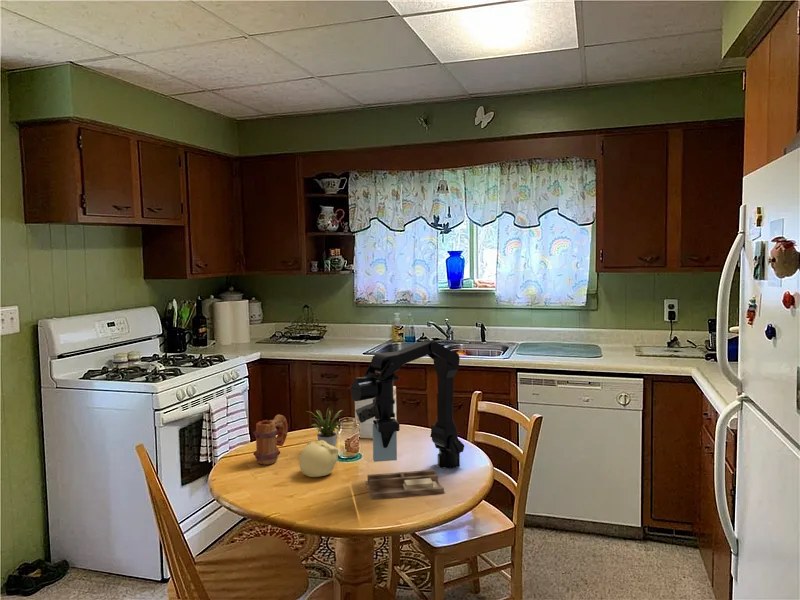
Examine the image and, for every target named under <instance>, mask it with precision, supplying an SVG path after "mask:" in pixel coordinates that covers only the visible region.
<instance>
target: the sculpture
mask: <svg viewBox="0 0 800 600" xmlns="http://www.w3.org/2000/svg"><path fill="white" fill-rule="evenodd" d="M338 454H339V448H338V447H336V445H335V446H332V445H330V444H328V443H327V442H326V441H324V440H320V441H318V440H317V441H310V442H307V443H306V445H305V446H304V448H302V450H301V452H300V454H299V458H298V465H299V468H300V471H301V473H302V474H304V475H305V476H306V477H310V478H320V477H323V476H327V475H330V474H331V473H332V471H333V470H334V469H335V465H336V463H337V462H338V459H339V458H338V457H339V455H338Z"/></svg>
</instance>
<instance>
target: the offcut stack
mask: <svg viewBox="0 0 800 600" xmlns="http://www.w3.org/2000/svg"><path fill="white" fill-rule="evenodd" d="M434 487H439V486H438V485H437V483H436V481H433V482H432V480H431V478H425V479H413V480H404V484H403V489H404V490H410V489H422V488H434Z"/></svg>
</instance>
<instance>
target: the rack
mask: <svg viewBox="0 0 800 600" xmlns="http://www.w3.org/2000/svg"><path fill="white" fill-rule="evenodd" d="M435 473H436V471H435V469H425V470H413V471H412V470H411V471H402V472H401V471H399V472H398V471H397V472H388V473H375V474H367V476H366V477H367V479H366V481H364V482H365V484H366V487H367V491H368V494H369V497H370V499H371V500H381V499H382V500H383V499H392V498H394V499H395V498H406V497H416V496H417V497H418V496H419V497H420V496H429V495H439V494H441V495H442V494H443V495H444V494H446V491H445V488H444V487H443V486H442V485H441V484H440V482H439V475H438V474H435ZM425 478H431V480H432V482H433V481H436V483H437V485H438V486H439V487H434V488H422V489H410V490H404V489H403V484H404V480H413V479H425Z"/></svg>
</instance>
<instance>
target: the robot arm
mask: <svg viewBox="0 0 800 600" xmlns="http://www.w3.org/2000/svg"><path fill="white" fill-rule="evenodd" d="M427 356H428V357H429V358H431V360H432V361H433V367H434V370H435V372H436V374H437V376H438V377H437V378H438V379H437V380H438V381H437V384H438V385H437V386H438V387H437V389H438V390H437V391H438V393H437V420H436V421H435V423H434V424H432V425H431V426H430V435H429V436H430V438H431V442H433V443H434V446H435V449H438V453H437V466H438V468H442V469H449V470H451V469H456V468H457V467H460V466H461V465H460V464H461V463H460V462H461V461H460V460H461V459H460V458H461V456H460V454H461V453H463V452H464V449H465V444H463V442H462V441H461V440H460V439H459V438H458V429H457V427H456V424H455V422H454V419H453V418H454V384H455V383H454V382H455V381H454V379H455V378H454V377H455V376H456V374H457V372H458V371H459V366H460V360H461V359H460V358H461V357H460V355H459V353H458V352H457V351H456V350H451V349H449V348H447V347H445V346H443V345H442V344H440V342H437V341H436V340H432V339H428V338H427V339H424V340H422V341H421V342H417V343H415V344H413V345H410V346H407V347H404V348H402V349H399V350H397V351H389V352H388V351H387V352H386V351H385V352H379V353H376V354H374V355H373V356H372V359H371V360H370V361H371V362H370V363H369V365H368V367H367V369H366V370H365V372H364V374H363V376H361V377H360V376H359V377H356V376H355V377H354V378H353V379H354V380H353V382H352V383H351V385H350V390H349V391H350V395H351V398H352V399H353V401H354V402H355V401H361V400H367V399H372V398H374V397H375V398H374V399H373V403H371V404H368V405H366V406H363V407H361V408H358V409H357V410H356V413H357V416H358V418H359V421H360V423H363V422H365V421H366V420H368V419H371V418H373V417H374V416H375V419H376V420H373V423H374V424H377V426H375V427H376V429H377V430H378V432H381V438H382V443H383V447H384V448H387V447H388V444H389V442H390V440H391V437H392V435H393V433H394V431H397V432H399V431H400V423H399V421H398V420H397V418H396V419H395V418H392V417H395V413H394V404H395V400H394V397H393V386H394V381H398V380H400V377H399V376H398V375H397V374H396V372H398V371H400V369H401V367H402V366H404V365H406V364H408V363H411V362H413V361H415V360H419V359H420V358H423V357H427ZM391 418H392V419H391Z"/></svg>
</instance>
